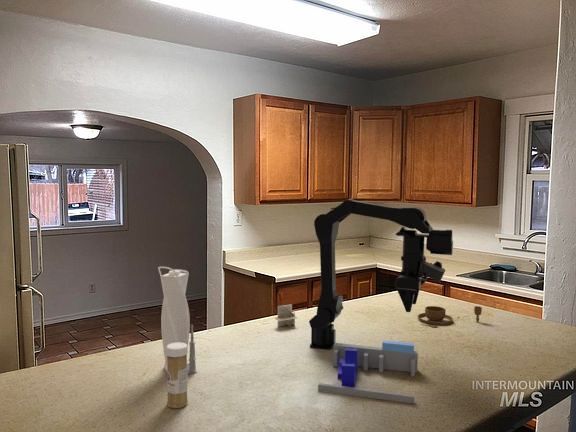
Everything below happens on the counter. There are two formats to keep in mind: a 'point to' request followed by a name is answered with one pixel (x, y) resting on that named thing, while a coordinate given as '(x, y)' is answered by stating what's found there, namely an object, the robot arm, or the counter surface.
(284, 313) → the architectural model
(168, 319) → the skyscraper
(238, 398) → the counter surface
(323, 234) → the robot arm
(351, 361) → the cable clip
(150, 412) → the counter surface
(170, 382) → the sprinkles bottle
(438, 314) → the place setting
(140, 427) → the counter surface
